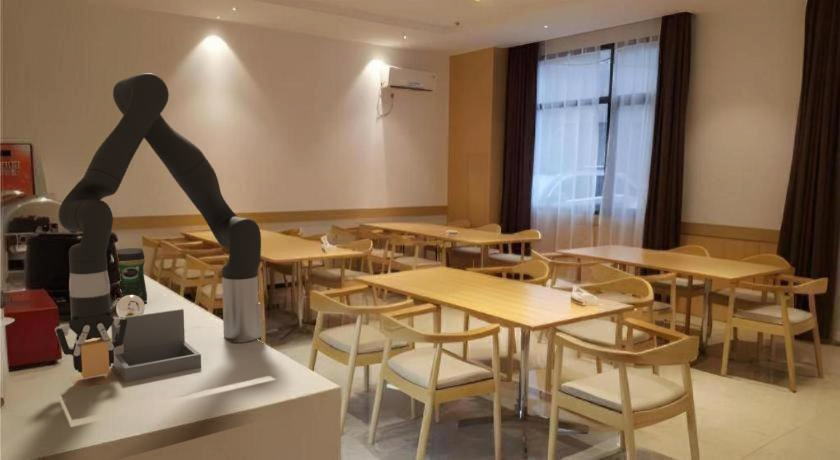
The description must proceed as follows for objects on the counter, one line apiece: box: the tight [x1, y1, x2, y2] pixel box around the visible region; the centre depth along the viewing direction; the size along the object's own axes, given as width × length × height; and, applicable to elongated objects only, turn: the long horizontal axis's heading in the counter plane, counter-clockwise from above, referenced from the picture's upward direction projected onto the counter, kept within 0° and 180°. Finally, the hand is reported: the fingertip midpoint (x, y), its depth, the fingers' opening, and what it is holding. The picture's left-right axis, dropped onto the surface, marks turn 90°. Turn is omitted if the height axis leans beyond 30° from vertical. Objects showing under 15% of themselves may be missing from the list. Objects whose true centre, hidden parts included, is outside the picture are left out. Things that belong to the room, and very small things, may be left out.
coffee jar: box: [115, 247, 148, 304], centre depth 199 cm, size 10×8×19 cm
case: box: [110, 308, 202, 383], centre depth 138 cm, size 16×13×12 cm
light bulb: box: [115, 295, 146, 318], centre depth 161 cm, size 7×7×12 cm
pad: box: [70, 369, 119, 390], centre depth 130 cm, size 8×8×1 cm
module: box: [79, 338, 111, 378], centre depth 129 cm, size 5×5×7 cm
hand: (94, 368), depth 130 cm, fingers closed on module, 5 cm apart
